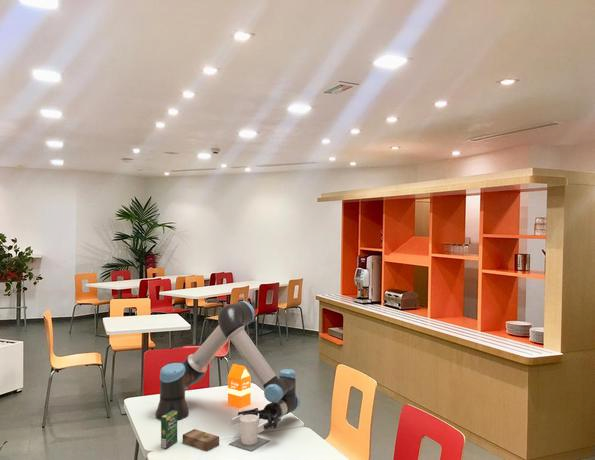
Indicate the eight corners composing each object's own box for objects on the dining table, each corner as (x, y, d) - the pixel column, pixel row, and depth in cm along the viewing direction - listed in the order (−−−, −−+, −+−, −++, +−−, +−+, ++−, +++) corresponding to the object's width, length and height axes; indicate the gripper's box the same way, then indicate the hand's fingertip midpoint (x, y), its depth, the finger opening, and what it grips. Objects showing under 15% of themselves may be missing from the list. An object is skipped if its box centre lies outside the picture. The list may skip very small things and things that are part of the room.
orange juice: (237, 400, 262) (238, 362, 261) (250, 404, 256) (250, 364, 256) (227, 404, 255) (227, 365, 255) (240, 408, 250) (240, 368, 250)
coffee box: (166, 449, 203) (166, 417, 203) (160, 448, 204) (160, 416, 204) (177, 441, 211) (178, 410, 211) (172, 440, 212) (172, 409, 212)
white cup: (255, 446, 206) (255, 422, 205) (237, 444, 207) (237, 420, 207) (261, 438, 213) (261, 415, 213) (243, 437, 215) (243, 413, 215)
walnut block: (182, 443, 210) (182, 431, 210) (194, 437, 216) (194, 426, 216) (207, 451, 202) (207, 439, 202) (219, 445, 208) (219, 433, 208)
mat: (228, 444, 208) (228, 443, 208) (247, 434, 218) (247, 433, 218) (251, 451, 202) (251, 450, 202) (269, 441, 212) (269, 440, 212)
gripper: (298, 424, 218) (269, 442, 201) (253, 413, 232) (222, 428, 215) (298, 407, 218) (269, 423, 201) (253, 396, 232) (222, 410, 215)
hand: (244, 425), depth 208 cm, fingers open, 13 cm apart
